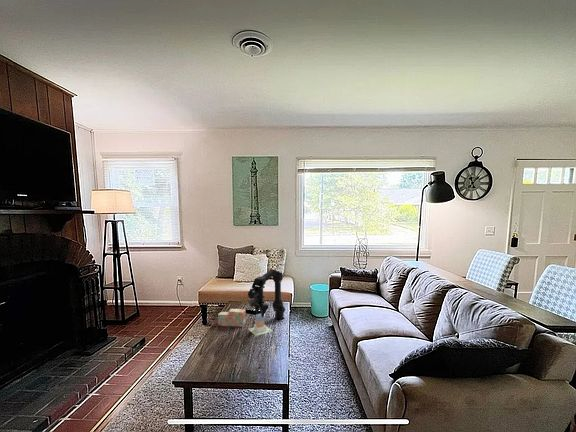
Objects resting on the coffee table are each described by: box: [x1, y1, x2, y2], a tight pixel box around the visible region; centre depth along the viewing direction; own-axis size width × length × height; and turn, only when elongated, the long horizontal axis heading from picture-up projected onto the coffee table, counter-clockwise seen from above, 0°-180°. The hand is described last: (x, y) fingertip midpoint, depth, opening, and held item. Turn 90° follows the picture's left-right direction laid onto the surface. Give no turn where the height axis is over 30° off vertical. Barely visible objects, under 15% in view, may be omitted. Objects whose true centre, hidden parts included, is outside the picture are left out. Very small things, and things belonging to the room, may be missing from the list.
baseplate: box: [248, 325, 273, 337], centre depth 209 cm, size 14×14×1 cm
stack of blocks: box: [217, 308, 247, 328], centre depth 220 cm, size 21×6×12 cm, turn 79°
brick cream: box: [253, 323, 267, 333], centre depth 209 cm, size 7×7×4 cm
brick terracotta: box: [255, 320, 265, 327], centre depth 209 cm, size 5×5×4 cm
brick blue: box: [255, 312, 265, 322], centre depth 209 cm, size 5×5×4 cm
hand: (259, 315), depth 209 cm, fingers open, 9 cm apart
